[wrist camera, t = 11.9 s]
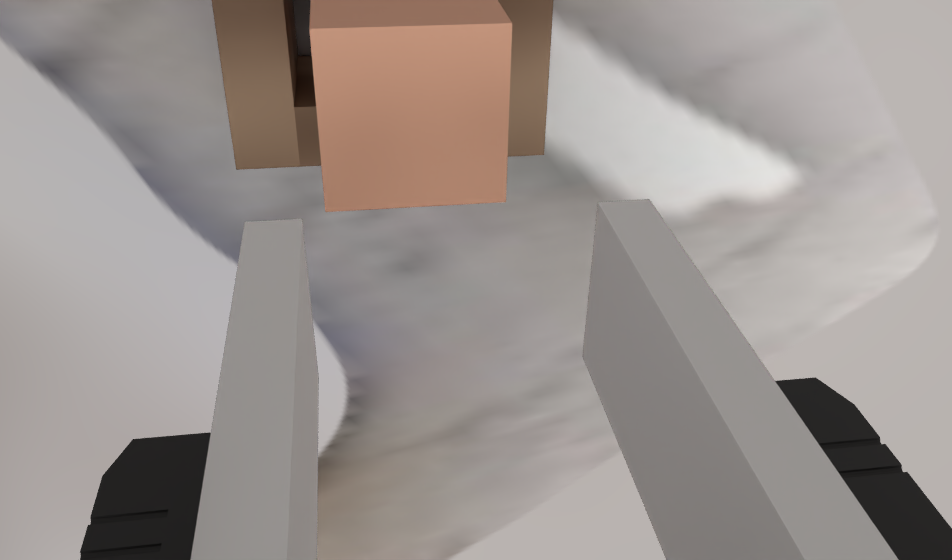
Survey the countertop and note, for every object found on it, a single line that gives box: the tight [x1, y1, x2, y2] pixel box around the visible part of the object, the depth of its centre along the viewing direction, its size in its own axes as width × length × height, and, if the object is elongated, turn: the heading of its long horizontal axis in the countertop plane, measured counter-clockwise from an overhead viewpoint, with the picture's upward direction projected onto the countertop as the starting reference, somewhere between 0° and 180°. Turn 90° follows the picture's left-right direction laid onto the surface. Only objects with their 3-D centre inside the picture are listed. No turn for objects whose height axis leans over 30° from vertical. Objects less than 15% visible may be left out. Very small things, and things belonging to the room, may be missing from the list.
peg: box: [309, 0, 512, 212], centre depth 24 cm, size 4×4×14 cm
